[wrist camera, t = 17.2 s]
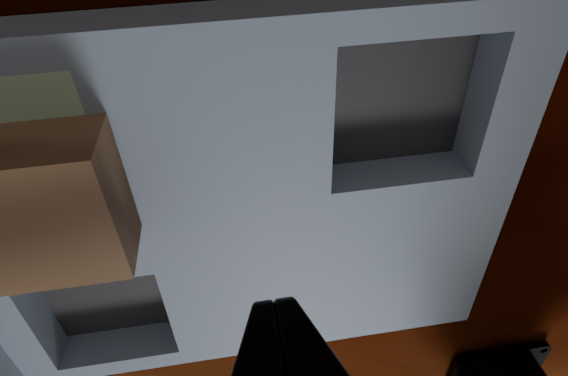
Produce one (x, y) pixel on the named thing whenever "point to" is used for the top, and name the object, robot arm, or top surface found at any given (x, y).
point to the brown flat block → (64, 206)
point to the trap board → (283, 164)
